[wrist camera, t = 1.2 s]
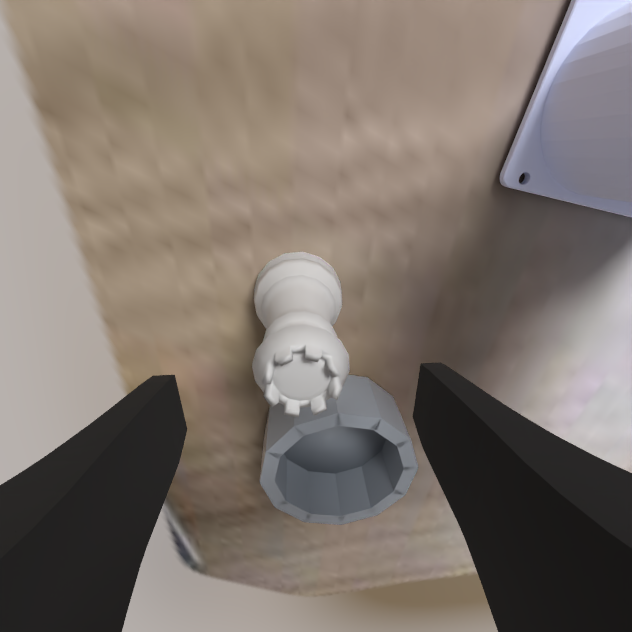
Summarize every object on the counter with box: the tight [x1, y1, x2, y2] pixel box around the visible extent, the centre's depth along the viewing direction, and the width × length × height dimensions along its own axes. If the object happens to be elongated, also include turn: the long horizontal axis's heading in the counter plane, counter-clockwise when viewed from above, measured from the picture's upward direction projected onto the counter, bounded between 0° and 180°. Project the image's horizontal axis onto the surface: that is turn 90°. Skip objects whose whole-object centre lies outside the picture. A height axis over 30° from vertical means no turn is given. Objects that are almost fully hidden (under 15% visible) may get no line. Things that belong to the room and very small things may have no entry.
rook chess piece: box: [252, 252, 350, 417], centre depth 14 cm, size 4×4×8 cm
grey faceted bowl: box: [260, 375, 418, 525], centre depth 20 cm, size 9×9×4 cm
